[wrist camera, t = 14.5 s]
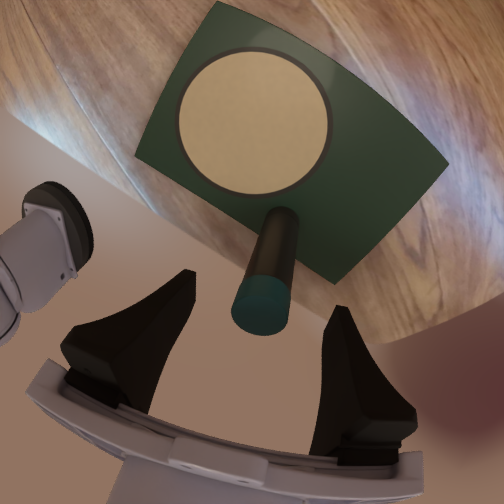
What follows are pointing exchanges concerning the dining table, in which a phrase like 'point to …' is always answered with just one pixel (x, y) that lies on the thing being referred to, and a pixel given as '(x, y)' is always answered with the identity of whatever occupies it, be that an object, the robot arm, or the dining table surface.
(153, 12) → the dining table surface
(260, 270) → the pill bottle
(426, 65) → the dining table surface
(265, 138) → the kitchen scale
